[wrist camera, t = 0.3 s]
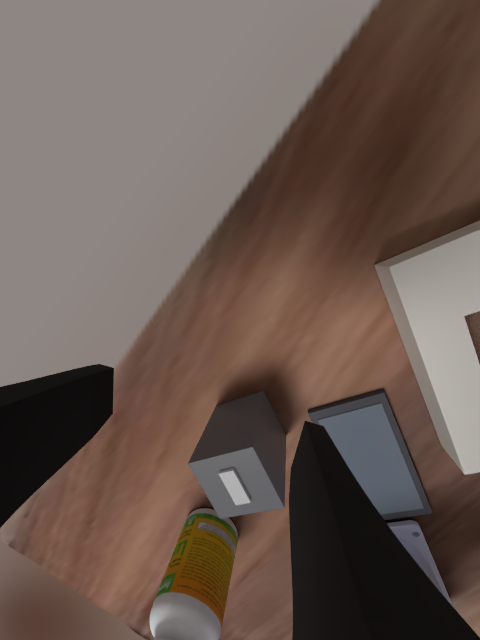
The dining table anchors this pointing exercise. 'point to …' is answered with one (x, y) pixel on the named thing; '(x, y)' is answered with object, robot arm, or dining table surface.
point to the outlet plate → (441, 333)
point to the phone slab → (375, 453)
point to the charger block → (242, 457)
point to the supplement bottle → (196, 580)
